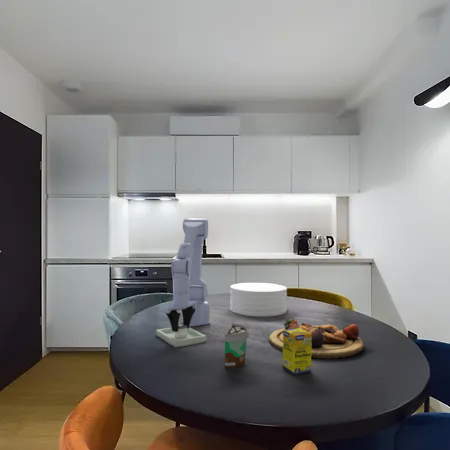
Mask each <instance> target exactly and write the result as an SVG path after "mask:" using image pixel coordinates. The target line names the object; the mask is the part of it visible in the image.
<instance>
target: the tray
mask: <svg viewBox="0 0 450 450" xmlns="http://www.w3.org/2000/svg"><path fill="white" fill-rule="evenodd" d="M155 332H156V333H155V335H156V337H158V338H160V339H161V340H162V341H164V342H166V343H168V344H169V345H170V346H172V347H174V348H180V347H181V348H182V347H184V346H190V345H197V344H201V343H206V342H207V335H206V334H203V333H202V332H200V331H197V330H195V329H194V328H191V326H189V328H188V329H187V337H186V338H182V339H179V338H175V337H174V336H175V332H174V331H172V327H171V326H170V327H166V328H165V327H164V328H160V329H156V331H155Z"/></svg>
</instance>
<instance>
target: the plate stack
mask: <svg viewBox="0 0 450 450" xmlns="http://www.w3.org/2000/svg"><path fill="white" fill-rule="evenodd" d="M287 291H288V287H287V286H285V285H282V284H277V283H270V282H240V283H239V282H238V283H235V284H231V285H230V291H229V292H230V297H229V299H230V301H229V303H230V304H229V305H230V306H229V309H230V311H231V312H233V313H234V314H238V315H244V316H249V317H250V316H251V317H274V316H280V315H283V314H285V313H287V312H288V309H287V305H288V303H287V301H288V298H287V297H288V296H287V295H288V292H287Z"/></svg>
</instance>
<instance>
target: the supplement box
mask: <svg viewBox="0 0 450 450" xmlns="http://www.w3.org/2000/svg"><path fill="white" fill-rule="evenodd" d="M311 348H312V333H310V332H308V331H305V330H303V329H301V328H298V329H290V330H283V351H282V369H284V370H285V371H287V372H288V373H290V374H292V375H293V376H296V375H301V374H307V372H309V373H312V358H311Z"/></svg>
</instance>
